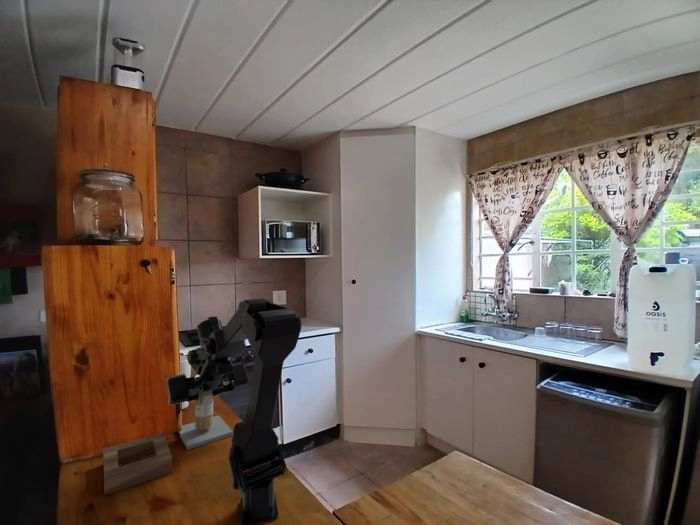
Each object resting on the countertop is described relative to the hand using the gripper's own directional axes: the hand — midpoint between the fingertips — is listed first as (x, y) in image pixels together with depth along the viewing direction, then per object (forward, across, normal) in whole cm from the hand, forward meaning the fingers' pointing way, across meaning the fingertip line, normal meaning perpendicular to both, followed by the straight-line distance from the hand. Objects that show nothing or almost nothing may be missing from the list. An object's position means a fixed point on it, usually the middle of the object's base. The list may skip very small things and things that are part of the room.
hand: (202, 397), depth 92 cm
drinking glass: (+20, +2, -7) cm, 21 cm away
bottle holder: (+1, +16, +12) cm, 20 cm away
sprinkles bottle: (+4, 0, +6) cm, 7 cm away
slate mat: (+6, 0, +7) cm, 9 cm away
